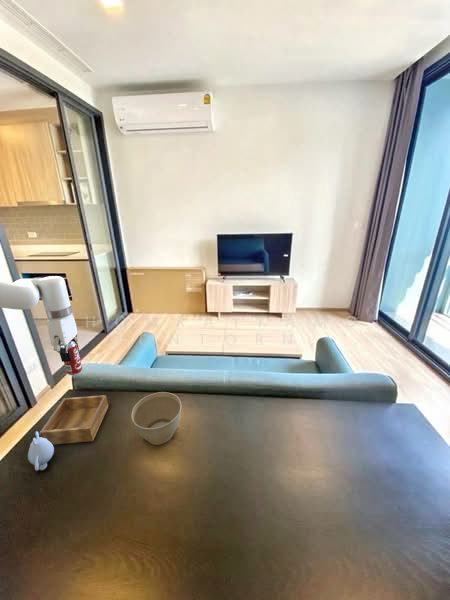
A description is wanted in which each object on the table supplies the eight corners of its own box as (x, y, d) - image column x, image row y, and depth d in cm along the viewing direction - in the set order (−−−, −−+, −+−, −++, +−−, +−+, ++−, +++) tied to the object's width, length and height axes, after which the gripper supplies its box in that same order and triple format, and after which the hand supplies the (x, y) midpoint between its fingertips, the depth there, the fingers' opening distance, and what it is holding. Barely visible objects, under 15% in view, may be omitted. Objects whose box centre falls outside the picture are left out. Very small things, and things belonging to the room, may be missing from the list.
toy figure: (38, 452, 80) (27, 424, 76) (60, 446, 82) (51, 418, 78) (27, 485, 71) (14, 454, 67) (53, 476, 73) (42, 447, 69)
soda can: (78, 365, 99) (72, 339, 95) (85, 370, 96) (78, 343, 92) (64, 372, 95) (57, 344, 91) (70, 377, 92) (63, 349, 88)
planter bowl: (186, 414, 94) (184, 391, 91) (180, 453, 79) (177, 427, 75) (143, 415, 94) (139, 392, 90) (129, 455, 79) (124, 429, 75)
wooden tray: (44, 445, 83) (39, 432, 81) (67, 409, 97) (63, 398, 95) (92, 440, 84) (89, 428, 82) (108, 406, 98) (106, 395, 96)
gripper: (60, 303, 95) (71, 345, 101) (32, 323, 79) (47, 371, 85) (81, 302, 95) (90, 344, 102) (57, 322, 79) (70, 369, 86)
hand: (70, 356), depth 93 cm, fingers closed on soda can, 5 cm apart
